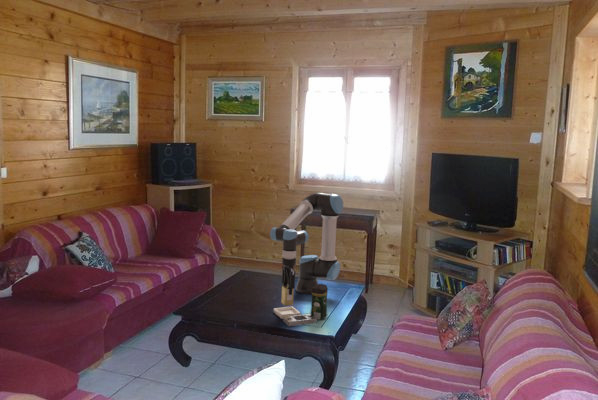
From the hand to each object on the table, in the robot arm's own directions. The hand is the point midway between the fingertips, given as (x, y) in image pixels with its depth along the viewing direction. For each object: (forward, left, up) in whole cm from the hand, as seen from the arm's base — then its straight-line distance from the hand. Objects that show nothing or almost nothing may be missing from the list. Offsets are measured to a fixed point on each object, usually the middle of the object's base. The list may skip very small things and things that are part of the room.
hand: (287, 298), depth 289 cm
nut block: (0, 0, -3) cm, 3 cm away
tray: (0, 0, -9) cm, 9 cm away
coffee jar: (-15, +10, -10) cm, 20 cm away
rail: (-2, +13, -9) cm, 16 cm away
